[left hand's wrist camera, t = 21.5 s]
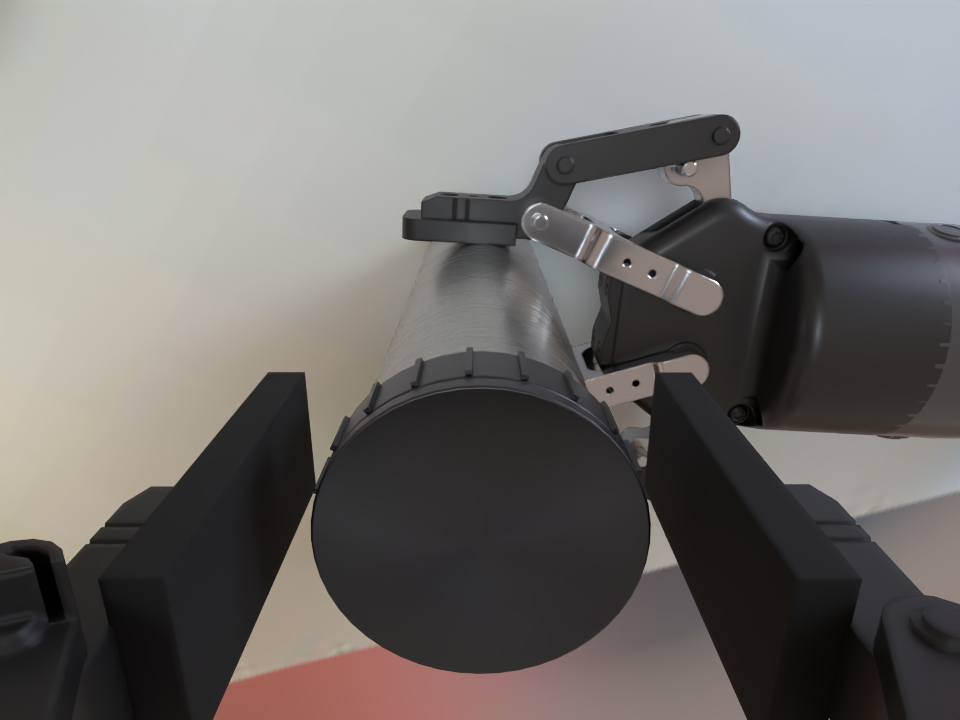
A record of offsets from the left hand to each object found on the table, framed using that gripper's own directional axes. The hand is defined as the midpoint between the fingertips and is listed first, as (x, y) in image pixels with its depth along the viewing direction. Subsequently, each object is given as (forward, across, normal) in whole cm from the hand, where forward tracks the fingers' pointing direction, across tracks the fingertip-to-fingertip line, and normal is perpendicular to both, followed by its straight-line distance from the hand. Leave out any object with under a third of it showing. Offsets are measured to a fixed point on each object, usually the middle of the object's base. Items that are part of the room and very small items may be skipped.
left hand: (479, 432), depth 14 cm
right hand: (+10, -3, 0) cm, 10 cm away
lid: (-4, 0, 0) cm, 4 cm away
